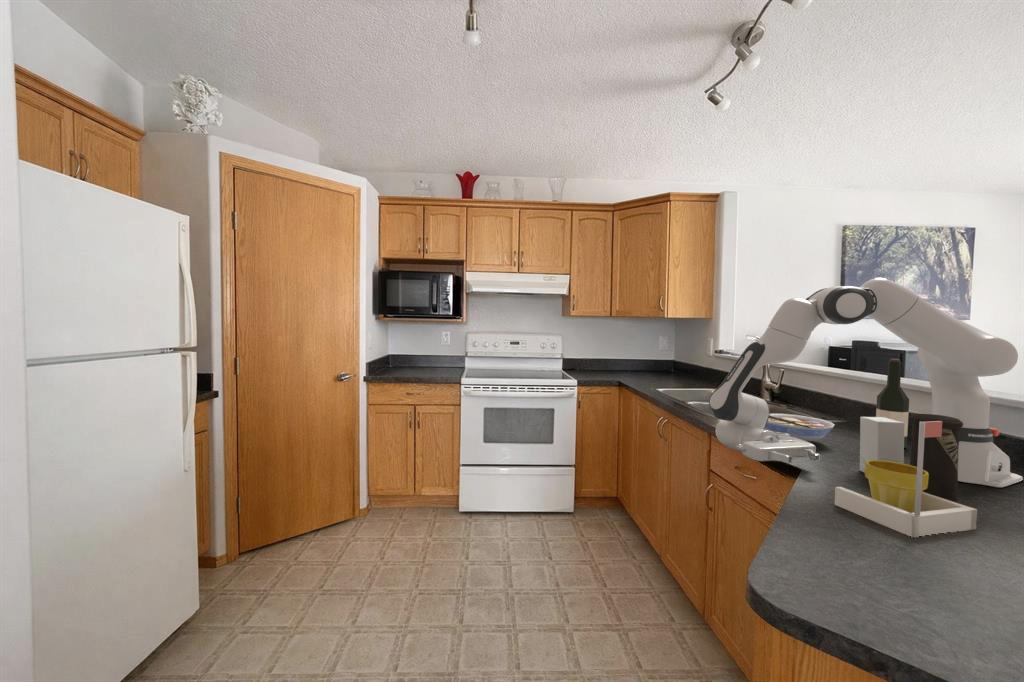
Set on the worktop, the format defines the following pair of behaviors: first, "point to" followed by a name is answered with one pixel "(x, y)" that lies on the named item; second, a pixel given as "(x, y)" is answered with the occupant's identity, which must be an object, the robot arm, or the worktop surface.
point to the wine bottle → (894, 398)
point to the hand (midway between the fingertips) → (803, 458)
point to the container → (938, 455)
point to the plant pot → (894, 483)
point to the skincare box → (881, 440)
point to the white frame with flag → (929, 509)
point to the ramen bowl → (799, 426)
